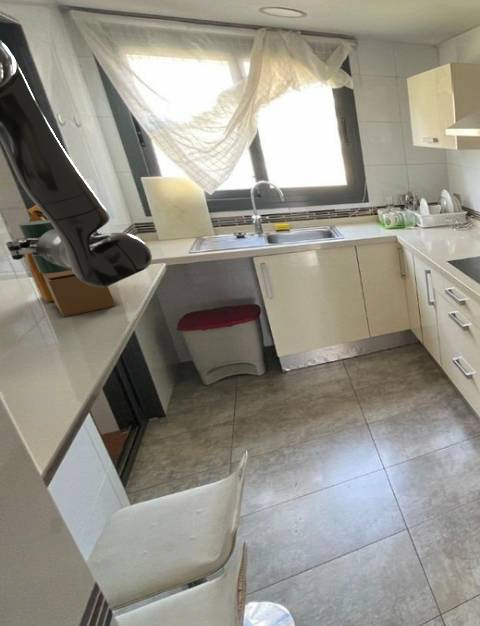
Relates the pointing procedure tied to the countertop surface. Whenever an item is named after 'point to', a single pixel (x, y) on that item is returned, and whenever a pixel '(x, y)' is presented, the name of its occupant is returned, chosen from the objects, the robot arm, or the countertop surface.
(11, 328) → the countertop surface
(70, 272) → the flap
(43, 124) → the robot arm
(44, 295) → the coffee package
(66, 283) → the carton
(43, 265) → the tea tin
